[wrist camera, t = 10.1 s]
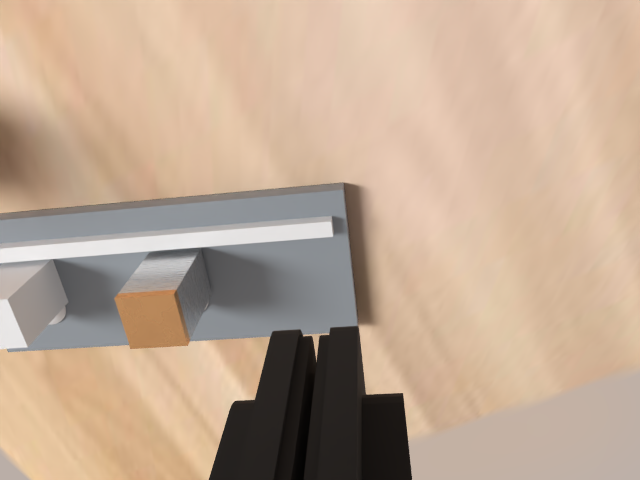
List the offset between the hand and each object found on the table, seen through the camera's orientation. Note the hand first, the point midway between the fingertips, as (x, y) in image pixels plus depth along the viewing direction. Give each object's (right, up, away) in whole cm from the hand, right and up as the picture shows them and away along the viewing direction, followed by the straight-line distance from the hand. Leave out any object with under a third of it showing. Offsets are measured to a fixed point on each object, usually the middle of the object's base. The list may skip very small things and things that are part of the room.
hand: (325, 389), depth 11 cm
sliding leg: (-11, 0, +31) cm, 33 cm away
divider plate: (-13, +1, +33) cm, 35 cm away
